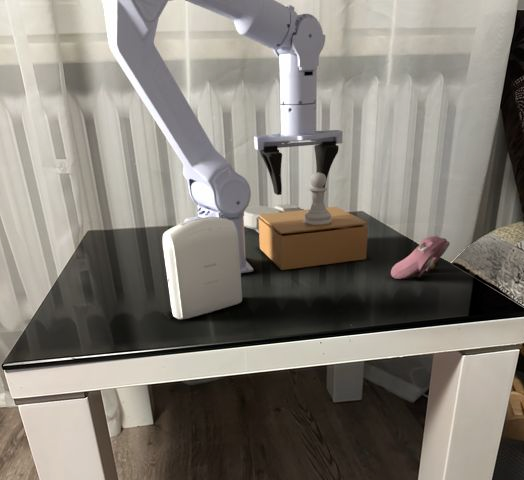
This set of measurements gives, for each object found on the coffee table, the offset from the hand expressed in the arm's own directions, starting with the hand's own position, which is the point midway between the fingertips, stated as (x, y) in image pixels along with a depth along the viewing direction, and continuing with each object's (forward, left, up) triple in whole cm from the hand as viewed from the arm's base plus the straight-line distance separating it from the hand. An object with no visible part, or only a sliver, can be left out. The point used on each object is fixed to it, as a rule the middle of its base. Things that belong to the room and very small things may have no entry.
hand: (299, 191), depth 92 cm
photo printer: (-21, -20, -11) cm, 31 cm away
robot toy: (0, +17, -11) cm, 20 cm away
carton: (+1, -2, -10) cm, 11 cm away
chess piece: (+1, -5, -4) cm, 7 cm away
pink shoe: (+13, -18, -11) cm, 25 cm away
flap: (+1, +1, -5) cm, 5 cm away
